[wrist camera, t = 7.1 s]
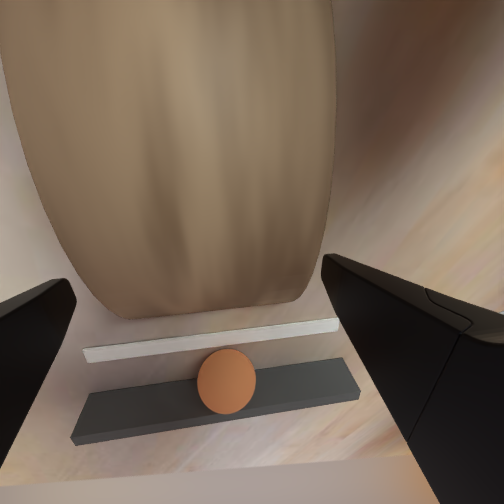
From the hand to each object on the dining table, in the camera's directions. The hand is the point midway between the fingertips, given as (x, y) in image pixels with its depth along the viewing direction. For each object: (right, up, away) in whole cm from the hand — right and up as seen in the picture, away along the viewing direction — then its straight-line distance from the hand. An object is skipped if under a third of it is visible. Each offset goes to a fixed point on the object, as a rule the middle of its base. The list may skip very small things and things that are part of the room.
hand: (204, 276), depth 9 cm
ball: (0, -8, +8) cm, 12 cm away
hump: (-3, +13, +19) cm, 23 cm away
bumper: (-1, -9, +11) cm, 15 cm away
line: (-1, -5, +9) cm, 11 cm away
